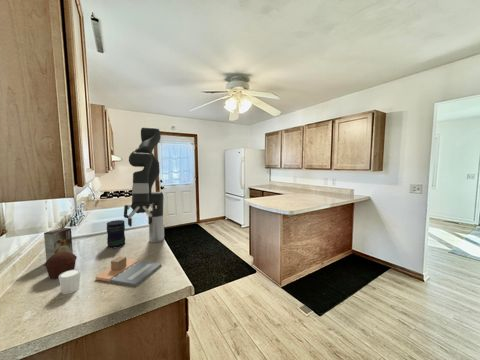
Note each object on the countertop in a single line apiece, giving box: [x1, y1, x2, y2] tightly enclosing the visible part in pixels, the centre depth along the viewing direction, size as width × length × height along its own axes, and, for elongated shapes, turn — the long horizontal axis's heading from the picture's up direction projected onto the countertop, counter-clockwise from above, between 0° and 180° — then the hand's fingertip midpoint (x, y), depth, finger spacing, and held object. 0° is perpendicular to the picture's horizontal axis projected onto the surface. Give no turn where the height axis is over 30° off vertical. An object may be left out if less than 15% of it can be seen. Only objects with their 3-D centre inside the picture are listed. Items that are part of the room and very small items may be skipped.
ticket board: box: [109, 260, 162, 288], centre depth 94 cm, size 18×13×1 cm
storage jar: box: [106, 219, 126, 249], centre depth 126 cm, size 10×10×15 cm
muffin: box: [43, 252, 77, 280], centre depth 93 cm, size 12×11×10 cm
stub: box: [95, 255, 140, 283], centre depth 96 cm, size 18×8×6 cm, turn 167°
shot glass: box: [58, 268, 81, 295], centre depth 82 cm, size 7×7×7 cm
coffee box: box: [43, 227, 74, 262], centre depth 107 cm, size 9×6×16 cm
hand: (140, 225), depth 98 cm, fingers open, 8 cm apart
